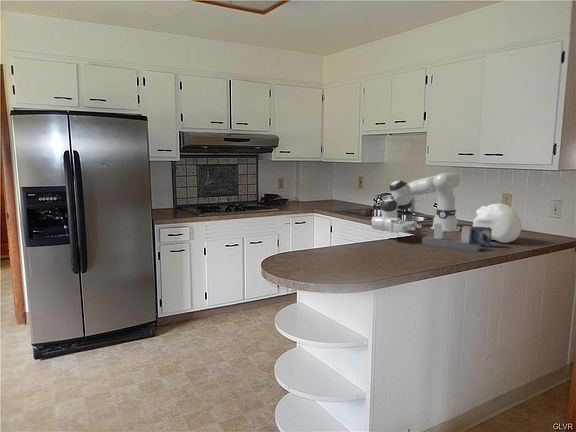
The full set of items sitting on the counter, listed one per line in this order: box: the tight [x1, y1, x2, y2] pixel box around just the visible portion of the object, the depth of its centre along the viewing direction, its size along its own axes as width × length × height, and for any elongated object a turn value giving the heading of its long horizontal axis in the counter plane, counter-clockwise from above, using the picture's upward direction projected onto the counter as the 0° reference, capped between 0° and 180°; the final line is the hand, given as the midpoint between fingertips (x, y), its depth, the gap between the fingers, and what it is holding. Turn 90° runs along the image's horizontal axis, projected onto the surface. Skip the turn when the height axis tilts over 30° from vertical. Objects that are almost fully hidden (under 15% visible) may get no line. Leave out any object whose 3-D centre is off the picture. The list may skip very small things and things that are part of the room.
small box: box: [469, 225, 492, 248], centre depth 232 cm, size 11×6×10 cm, turn 73°
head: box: [472, 202, 522, 244], centre depth 247 cm, size 20×28×28 cm
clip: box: [433, 223, 445, 240], centre depth 235 cm, size 4×4×12 cm
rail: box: [421, 225, 482, 252], centre depth 230 cm, size 7×30×12 cm, turn 51°
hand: (418, 227), depth 242 cm, fingers open, 8 cm apart
